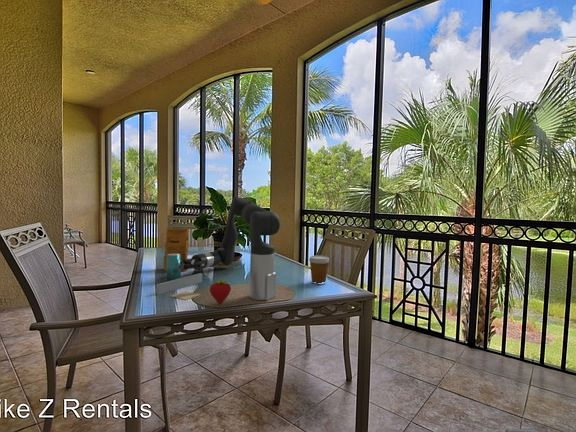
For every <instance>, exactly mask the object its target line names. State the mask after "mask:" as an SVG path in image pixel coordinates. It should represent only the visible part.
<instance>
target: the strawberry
mask: <svg viewBox="0 0 576 432" xmlns="http://www.w3.org/2000/svg"><path fill="white" fill-rule="evenodd" d="M220 278H221V279H220V280H218V281H217V280H216V281H213V284H211V285H210V287H209V291H210V295H211V296H212V297H213V299H214V300H215V301H216V302H217V303H218V304H220V305H221V304H223V302H224V301H225V300H226V299H227V298H228V296H229V295H230V292H231V289H232V287H231V285H230V284H229V281H228V280H227V281H226V280H223V278H222V276H220Z"/></svg>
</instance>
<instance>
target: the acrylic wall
mask: <svg viewBox="0 0 576 432" xmlns="http://www.w3.org/2000/svg"><path fill="white" fill-rule="evenodd" d="M200 283H203V273H202V272H199V273H195V274H191V275H188V276H183V277H181V278H179V279H175V280H172V281H168V282H167V281H165V282H160V283H157V284H156V285H155V286H156V290H155V291H156V294H155V295H157V296H160V295H163V294H165V293H170V292H173V291H177V290H179V289H183V288H187V287H190V286H194V285H196V284H200Z"/></svg>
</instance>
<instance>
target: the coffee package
mask: <svg viewBox="0 0 576 432" xmlns="http://www.w3.org/2000/svg"><path fill="white" fill-rule="evenodd" d="M165 235H166V236H165V237H166V238H165V245H164V248H165V249H164V256H163V271H164V272H167V255H168V254H170V253H179V254H181V259H188V252H189V228H188V227H185V228H172V227H171V228H170V227H167V228H166V234H165ZM184 265H185V264H184ZM186 271H187V270H184V267H182V266H181V272H186Z"/></svg>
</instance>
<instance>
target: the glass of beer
mask: <svg viewBox="0 0 576 432" xmlns="http://www.w3.org/2000/svg"><path fill="white" fill-rule="evenodd" d="M308 260H309V265H310V275H311V276H310V277H311V283H312V282H316V283H322V282H325V281H327V275H328V268H329V263H330V258H329V257H328V256H327V255H326V256H325V255H311V256H310V257H309V259H308Z"/></svg>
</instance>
